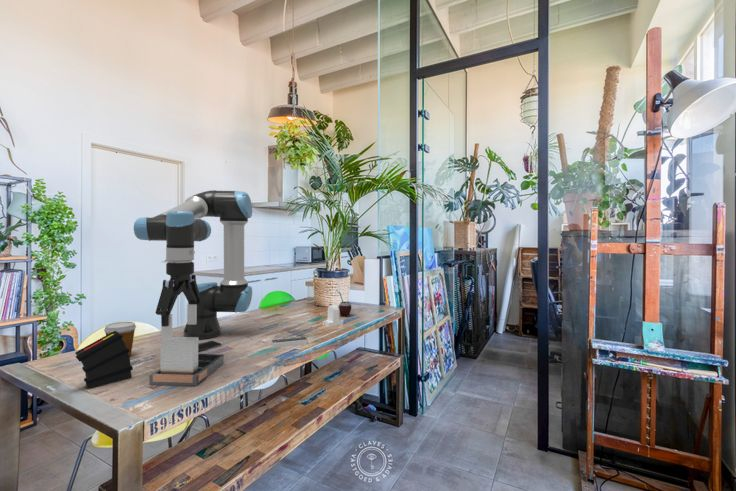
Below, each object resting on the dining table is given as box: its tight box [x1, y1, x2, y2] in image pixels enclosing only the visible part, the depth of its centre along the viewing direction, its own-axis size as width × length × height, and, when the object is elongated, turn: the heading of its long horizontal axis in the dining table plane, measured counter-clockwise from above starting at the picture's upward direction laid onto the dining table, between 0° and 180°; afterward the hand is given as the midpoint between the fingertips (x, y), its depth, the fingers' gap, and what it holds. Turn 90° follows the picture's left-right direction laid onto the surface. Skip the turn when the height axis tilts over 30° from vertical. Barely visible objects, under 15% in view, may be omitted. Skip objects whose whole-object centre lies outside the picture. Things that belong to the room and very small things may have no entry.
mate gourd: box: [336, 289, 352, 318], centre depth 197 cm, size 8×8×15 cm
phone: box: [198, 340, 222, 353], centre depth 136 cm, size 8×1×15 cm
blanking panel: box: [160, 336, 199, 375], centre depth 106 cm, size 10×3×12 cm, turn 89°
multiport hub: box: [270, 336, 308, 349], centre depth 144 cm, size 4×14×2 cm, turn 114°
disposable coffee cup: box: [103, 321, 137, 357], centre depth 124 cm, size 10×10×12 cm
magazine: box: [74, 331, 134, 389], centre depth 104 cm, size 4×13×15 cm, turn 140°
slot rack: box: [149, 353, 225, 387], centre depth 112 cm, size 14×19×3 cm
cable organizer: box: [322, 304, 344, 328], centre depth 178 cm, size 5×10×10 cm, turn 130°
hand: (180, 330), depth 106 cm, fingers open, 13 cm apart
